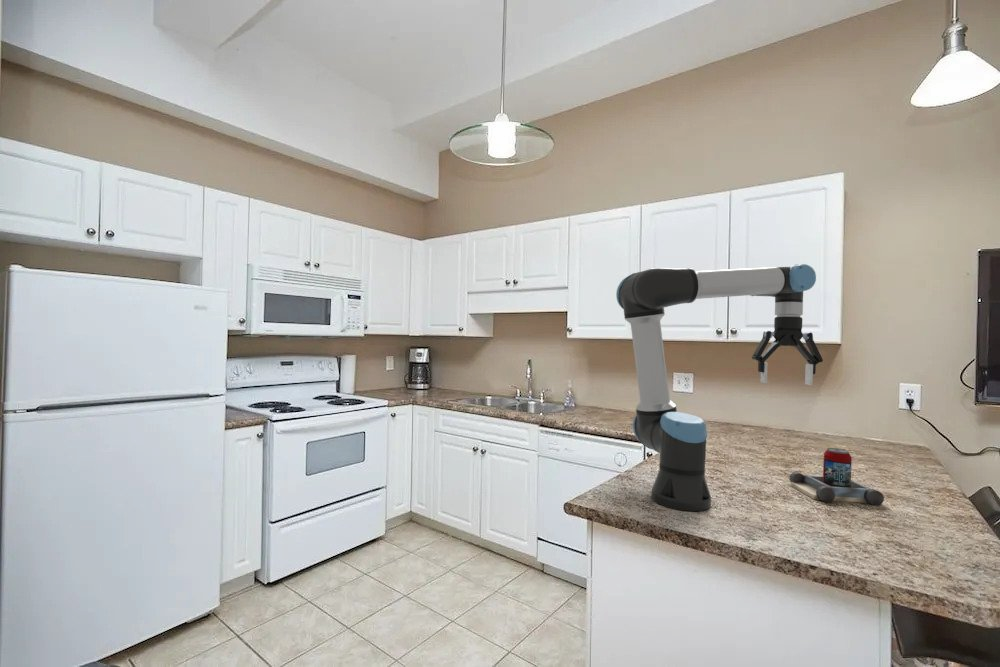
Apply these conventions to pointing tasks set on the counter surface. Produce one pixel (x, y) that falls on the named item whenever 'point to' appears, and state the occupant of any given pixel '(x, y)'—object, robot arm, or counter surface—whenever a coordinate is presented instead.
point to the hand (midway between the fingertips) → (786, 383)
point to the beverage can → (837, 468)
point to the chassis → (834, 490)
